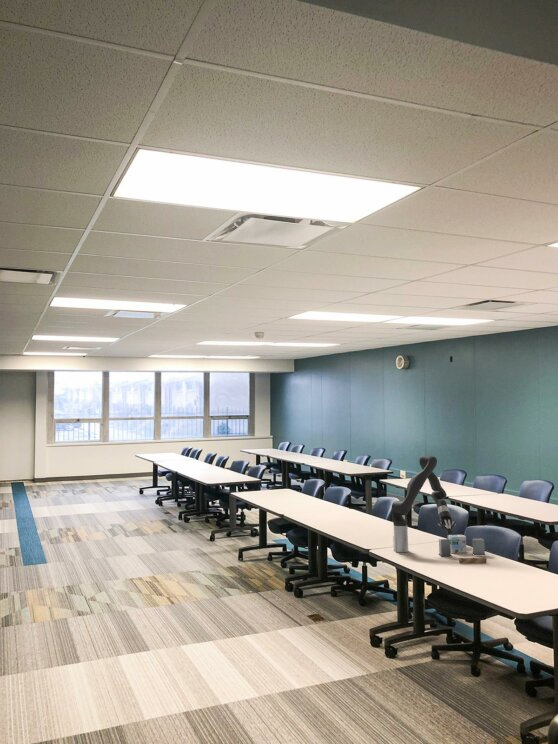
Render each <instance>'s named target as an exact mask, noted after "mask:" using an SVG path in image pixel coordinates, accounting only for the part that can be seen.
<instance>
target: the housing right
mask: <svg viewBox="0 0 558 744" xmlns="http://www.w3.org/2000/svg"><path fill="white" fill-rule="evenodd" d="M485 551H486V549H485V539H483V538H480V537H479V538H472V553H473V554H474V555H486V552H485ZM473 554H472V555H473ZM474 555H473V556H474Z"/></svg>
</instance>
